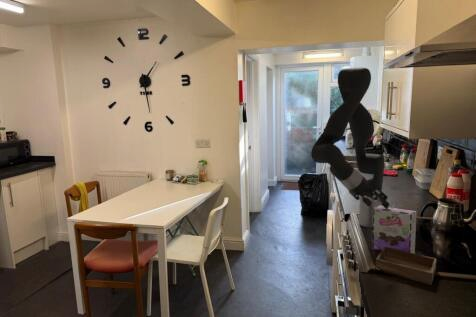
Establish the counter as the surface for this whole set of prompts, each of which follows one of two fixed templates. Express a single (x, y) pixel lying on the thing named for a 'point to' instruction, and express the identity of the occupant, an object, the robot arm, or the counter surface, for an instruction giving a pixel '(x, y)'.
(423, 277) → the crate
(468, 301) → the counter surface
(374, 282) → the counter surface
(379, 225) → the candy box
